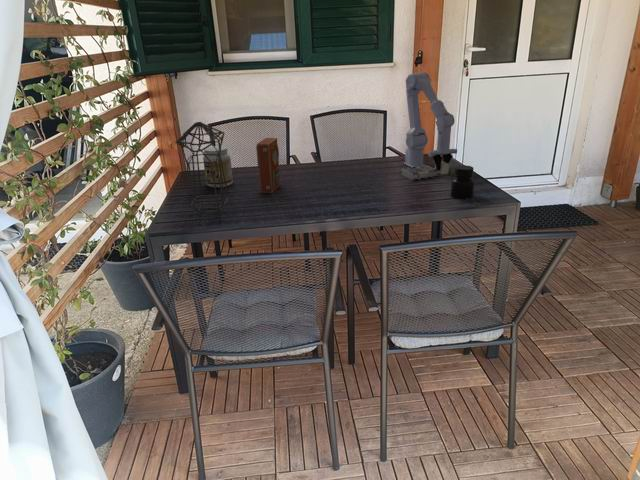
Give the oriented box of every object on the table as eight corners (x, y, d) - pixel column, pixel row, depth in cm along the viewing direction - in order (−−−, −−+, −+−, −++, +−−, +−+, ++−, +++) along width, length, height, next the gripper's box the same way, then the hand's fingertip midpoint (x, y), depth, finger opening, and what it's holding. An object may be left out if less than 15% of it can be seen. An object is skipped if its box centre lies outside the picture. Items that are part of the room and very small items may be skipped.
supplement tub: (201, 187, 209) (196, 150, 202) (214, 180, 219) (210, 144, 212) (225, 189, 205) (221, 151, 198) (237, 181, 216) (233, 145, 209)
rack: (400, 175, 216) (401, 168, 215) (426, 171, 221) (426, 165, 219) (411, 180, 208) (411, 173, 207) (438, 176, 212) (438, 170, 211)
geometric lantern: (233, 205, 185) (224, 117, 170) (227, 220, 170) (216, 126, 155) (194, 206, 184) (181, 118, 169) (185, 221, 170) (170, 127, 155)
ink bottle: (477, 195, 186) (480, 166, 182) (470, 201, 180) (473, 171, 175) (453, 191, 192) (456, 163, 187) (446, 197, 185) (448, 168, 180)
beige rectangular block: (434, 171, 220) (435, 161, 218) (439, 170, 221) (440, 160, 219) (442, 174, 214) (443, 164, 212) (448, 174, 215) (449, 163, 213)
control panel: (282, 184, 209) (273, 194, 196) (268, 183, 211) (257, 193, 197) (279, 137, 201) (269, 144, 187) (264, 137, 202) (253, 144, 189)
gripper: (434, 144, 206) (432, 173, 212) (462, 141, 210) (459, 170, 216) (426, 141, 212) (424, 170, 218) (453, 138, 216) (450, 166, 222)
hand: (441, 169), depth 217 cm, fingers closed on beige rectangular block, 3 cm apart
